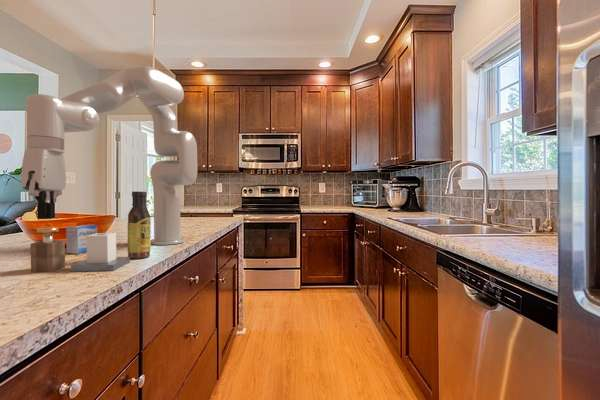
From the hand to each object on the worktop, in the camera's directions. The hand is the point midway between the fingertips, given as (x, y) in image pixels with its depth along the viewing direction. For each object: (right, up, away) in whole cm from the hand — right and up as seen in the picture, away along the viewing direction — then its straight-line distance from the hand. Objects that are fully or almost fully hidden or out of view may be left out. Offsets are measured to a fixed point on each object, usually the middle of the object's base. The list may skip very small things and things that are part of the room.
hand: (46, 218), depth 83 cm
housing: (+12, -11, +4) cm, 17 cm away
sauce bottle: (+16, -13, +16) cm, 26 cm away
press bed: (+12, -13, +4) cm, 18 cm away
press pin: (0, -9, +1) cm, 9 cm away
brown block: (0, -13, +1) cm, 13 cm away
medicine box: (-7, -13, +25) cm, 29 cm away
